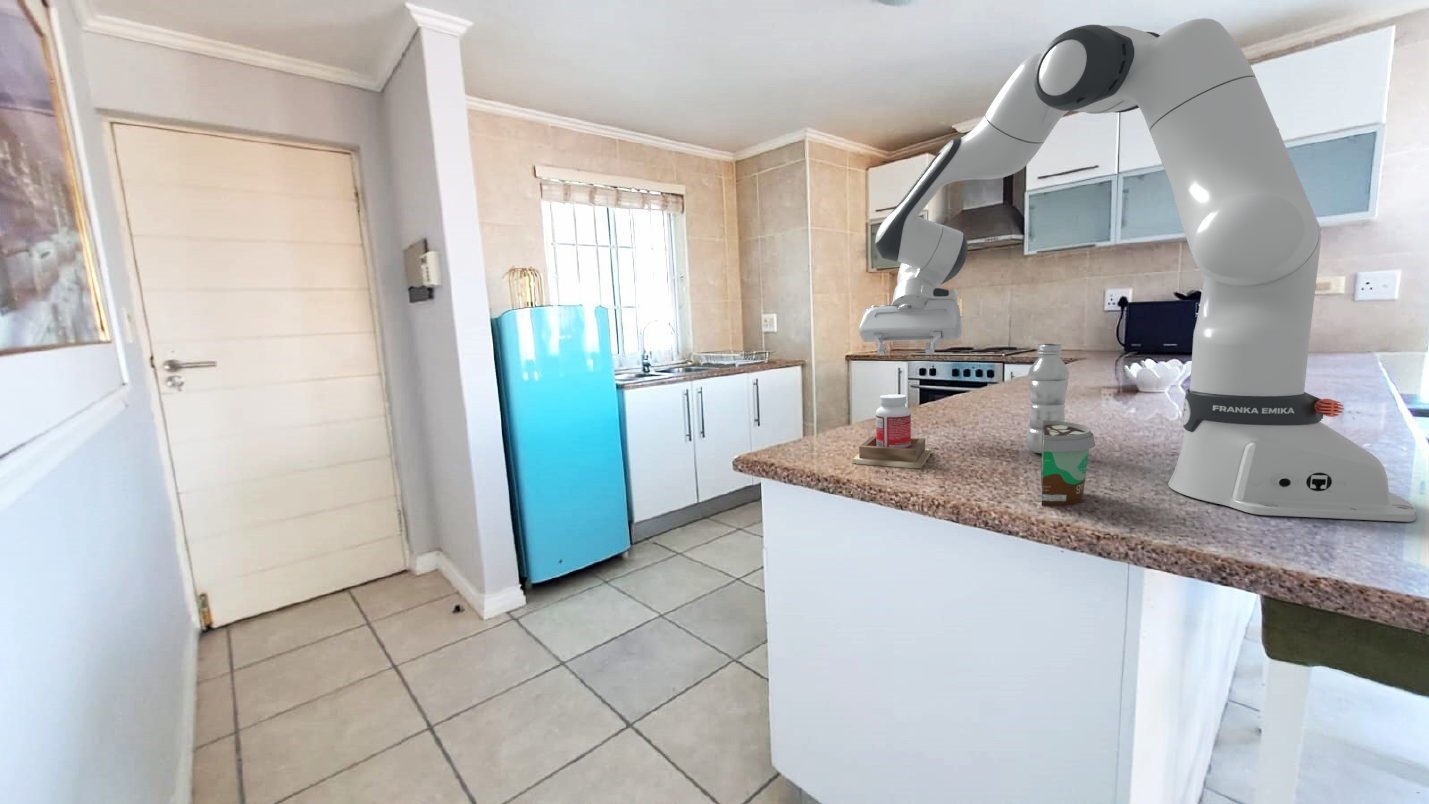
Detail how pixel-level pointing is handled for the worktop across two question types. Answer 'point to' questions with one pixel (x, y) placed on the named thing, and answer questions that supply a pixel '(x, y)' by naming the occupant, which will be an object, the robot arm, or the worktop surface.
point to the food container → (1064, 462)
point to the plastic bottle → (1046, 392)
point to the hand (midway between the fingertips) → (904, 353)
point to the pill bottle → (893, 422)
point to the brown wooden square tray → (893, 454)
